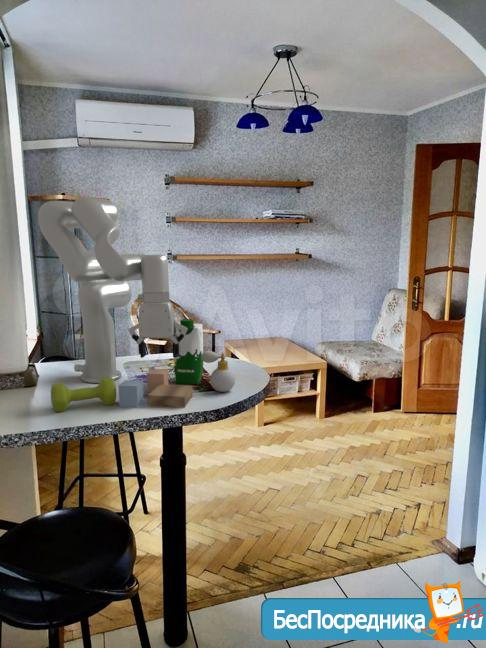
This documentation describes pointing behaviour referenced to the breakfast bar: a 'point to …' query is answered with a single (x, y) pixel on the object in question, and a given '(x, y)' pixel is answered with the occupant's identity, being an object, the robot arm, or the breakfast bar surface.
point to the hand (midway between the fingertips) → (159, 356)
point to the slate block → (131, 393)
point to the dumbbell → (82, 394)
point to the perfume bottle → (219, 372)
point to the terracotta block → (156, 378)
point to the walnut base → (170, 395)
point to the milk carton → (189, 354)
